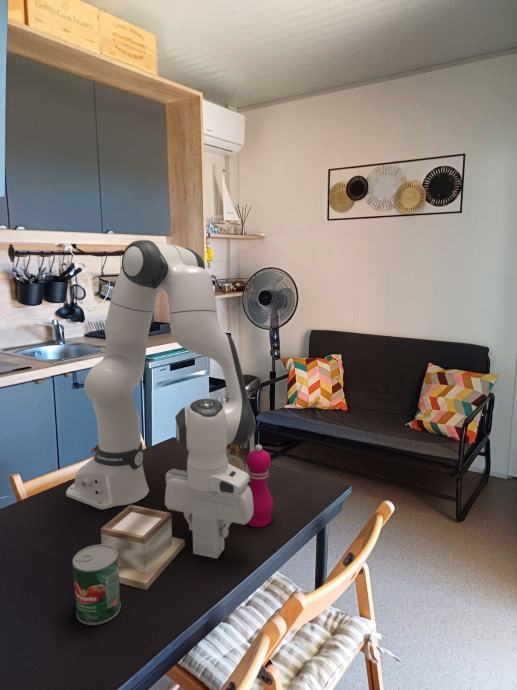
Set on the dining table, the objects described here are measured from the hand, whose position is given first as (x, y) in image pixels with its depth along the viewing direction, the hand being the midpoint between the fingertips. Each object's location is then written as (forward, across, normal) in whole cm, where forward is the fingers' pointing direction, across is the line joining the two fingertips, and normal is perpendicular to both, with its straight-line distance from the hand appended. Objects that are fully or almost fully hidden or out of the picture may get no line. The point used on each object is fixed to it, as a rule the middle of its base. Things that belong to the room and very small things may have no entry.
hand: (208, 532), depth 110 cm
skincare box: (+5, 0, 0) cm, 5 cm away
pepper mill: (+5, +6, +16) cm, 18 cm away
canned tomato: (+5, -11, -24) cm, 27 cm away
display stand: (+4, -13, -8) cm, 16 cm away
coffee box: (+5, -8, +37) cm, 38 cm away
